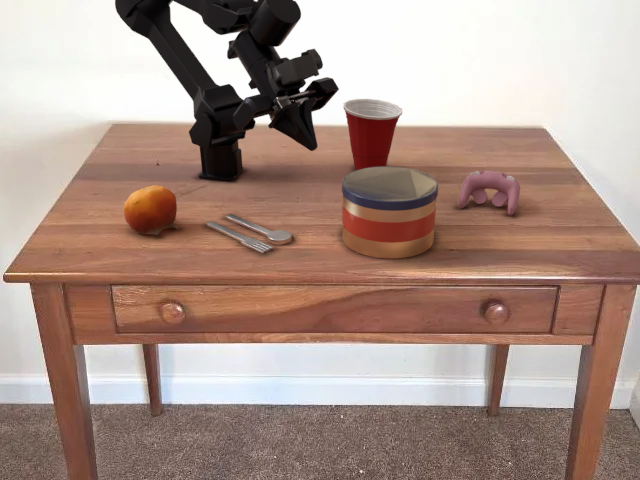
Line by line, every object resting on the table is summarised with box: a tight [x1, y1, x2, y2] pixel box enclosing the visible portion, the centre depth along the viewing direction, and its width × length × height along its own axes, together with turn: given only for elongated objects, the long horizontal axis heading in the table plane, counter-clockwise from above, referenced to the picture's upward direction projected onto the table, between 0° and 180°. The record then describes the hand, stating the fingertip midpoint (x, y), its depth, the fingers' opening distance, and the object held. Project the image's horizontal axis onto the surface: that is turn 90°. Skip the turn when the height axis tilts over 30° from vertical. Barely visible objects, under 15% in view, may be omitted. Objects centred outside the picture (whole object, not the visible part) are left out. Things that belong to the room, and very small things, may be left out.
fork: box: [205, 220, 274, 255], centre depth 114 cm, size 14×2×1 cm, turn 49°
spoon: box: [225, 213, 292, 246], centre depth 116 cm, size 14×4×1 cm, turn 49°
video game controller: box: [457, 170, 521, 216], centre depth 125 cm, size 10×5×7 cm, turn 71°
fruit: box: [122, 184, 179, 237], centre depth 115 cm, size 8×8×8 cm
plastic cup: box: [342, 98, 403, 171], centre depth 137 cm, size 11×11×12 cm
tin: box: [341, 165, 439, 260], centre depth 113 cm, size 14×14×9 cm
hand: (314, 149), depth 118 cm, fingers closed
